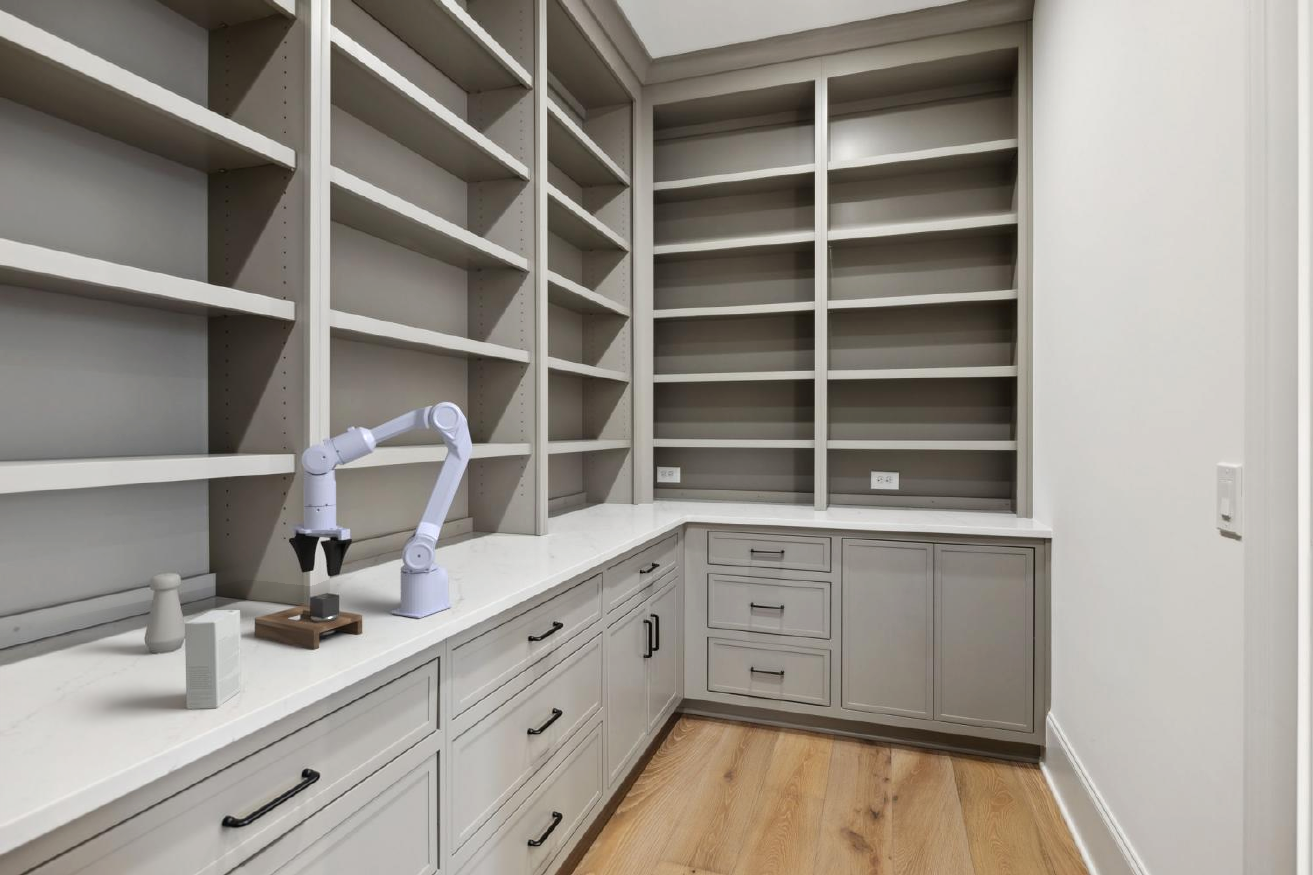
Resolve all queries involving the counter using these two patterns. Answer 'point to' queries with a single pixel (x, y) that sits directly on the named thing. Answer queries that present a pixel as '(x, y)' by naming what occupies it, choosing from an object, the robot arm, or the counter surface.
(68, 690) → the counter surface
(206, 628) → the skincare box
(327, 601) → the dark grey key plug
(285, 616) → the keyhole plate
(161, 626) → the salt shaker
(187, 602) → the counter surface
